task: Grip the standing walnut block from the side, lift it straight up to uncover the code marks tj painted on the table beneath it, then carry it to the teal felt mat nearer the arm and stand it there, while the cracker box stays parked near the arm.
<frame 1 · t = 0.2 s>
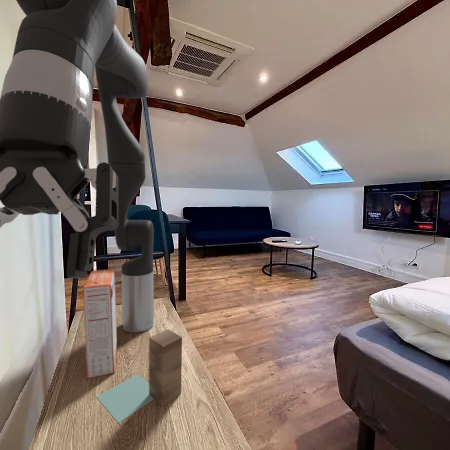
hand: (23, 279, 22), 32 cm above the table, tool tilted 20°, fingers open, 8 cm apart
felt mat: (129, 396, 51), on the table
walnut block: (165, 393, 51), on the table, touching code marks tj, felt mat
cracker box: (103, 360, 63), on the table
code marks tj: (165, 394, 51), on the table
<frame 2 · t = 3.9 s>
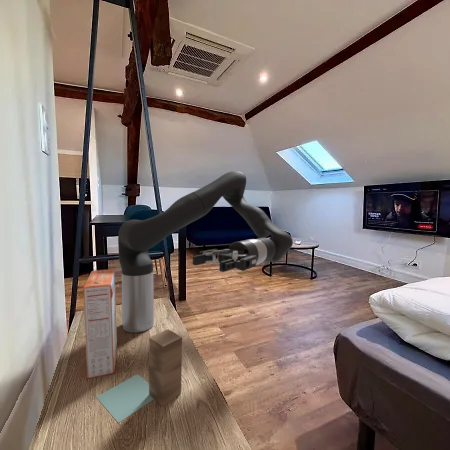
hand: (206, 264, 58), 25 cm above the table, tool horizontal, fingers open, 8 cm apart
nothing on the table moved.
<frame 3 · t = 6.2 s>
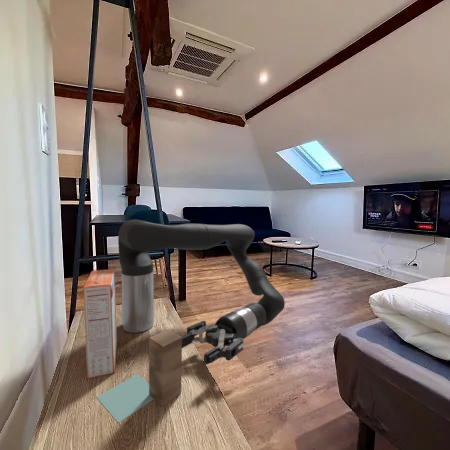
hand: (191, 351, 56), 6 cm above the table, tool horizontal, fingers open, 8 cm apart
nothing on the table moved.
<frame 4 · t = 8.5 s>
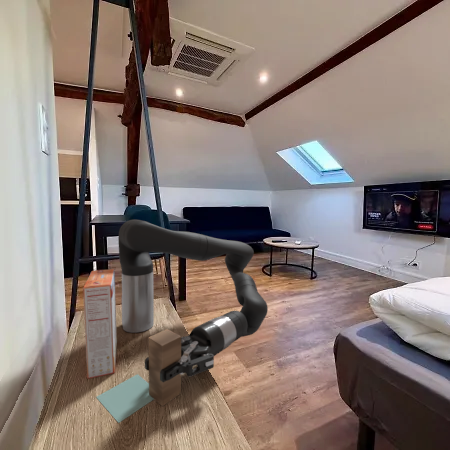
hand: (153, 370, 49), 7 cm above the table, tool horizontal, fingers closed on walnut block, 4 cm apart
walnut block: (165, 393, 51), on the table, touching felt mat, gripper
everything else where it was.
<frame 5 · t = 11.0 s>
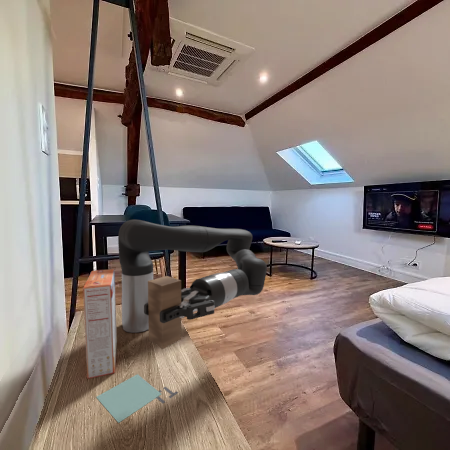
hand: (152, 313, 48), 18 cm above the table, tool horizontal, fingers closed on walnut block, 4 cm apart
walnut block: (165, 339, 50), point 12 cm above the table, touching gripper
everything else where it was.
when the fingers open (8 cm above the table, at t = 13.8 s): walnut block drops 2 cm, resting on felt mat.
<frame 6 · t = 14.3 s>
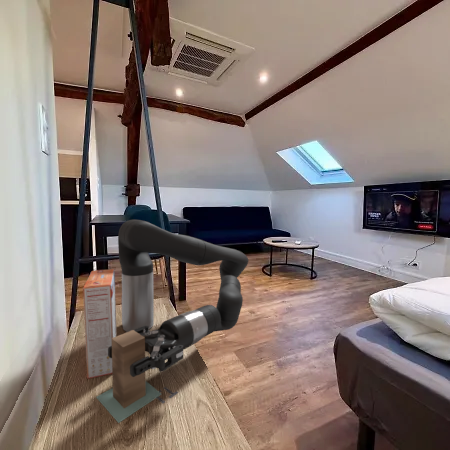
hand: (119, 361, 49), 8 cm above the table, tool horizontal, fingers open, 8 cm apart
walnut block: (129, 395, 51), resting on felt mat
everything else where it was.
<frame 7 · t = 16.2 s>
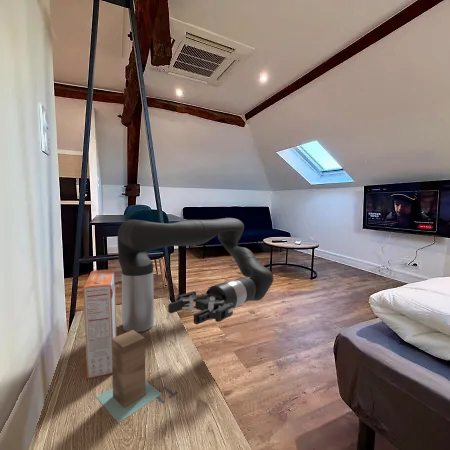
hand: (181, 314, 57), 14 cm above the table, tool horizontal, fingers open, 8 cm apart
nothing on the table moved.
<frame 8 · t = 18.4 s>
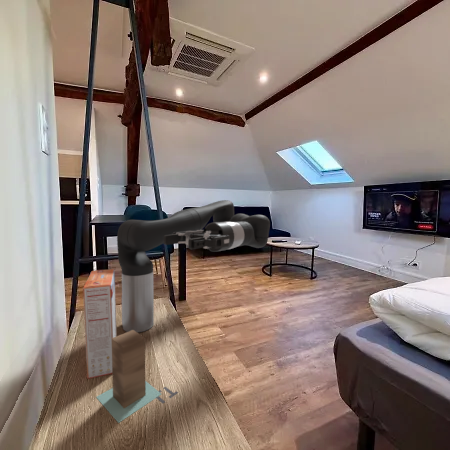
hand: (176, 242, 56), 30 cm above the table, tool horizontal, fingers open, 8 cm apart
nothing on the table moved.
at the end: walnut block inside the target area (0.1 cm from its centre), resting on felt mat; walnut block tilted 0°; the gripper is holding nothing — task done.
